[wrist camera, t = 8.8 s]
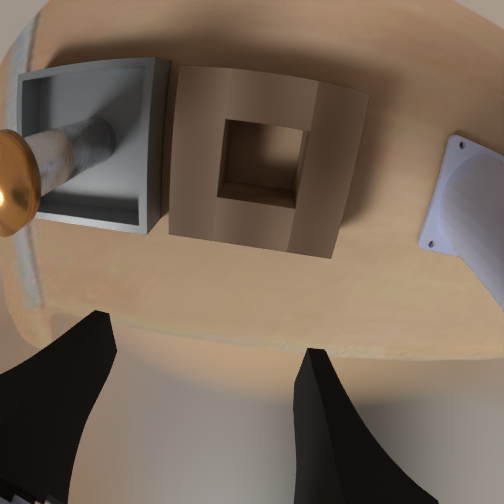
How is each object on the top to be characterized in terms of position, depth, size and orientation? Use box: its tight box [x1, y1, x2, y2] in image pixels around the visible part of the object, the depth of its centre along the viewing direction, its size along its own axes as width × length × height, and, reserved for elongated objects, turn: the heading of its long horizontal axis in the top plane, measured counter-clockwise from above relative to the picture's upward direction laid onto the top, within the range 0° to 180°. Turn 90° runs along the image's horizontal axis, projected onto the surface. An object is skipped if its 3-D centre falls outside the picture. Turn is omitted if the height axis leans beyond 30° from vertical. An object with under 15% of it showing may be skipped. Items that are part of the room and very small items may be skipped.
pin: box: [0, 118, 116, 237], centre depth 13 cm, size 4×4×9 cm
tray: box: [17, 57, 171, 235], centre depth 16 cm, size 10×10×2 cm
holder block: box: [169, 66, 370, 259], centre depth 16 cm, size 9×9×3 cm
